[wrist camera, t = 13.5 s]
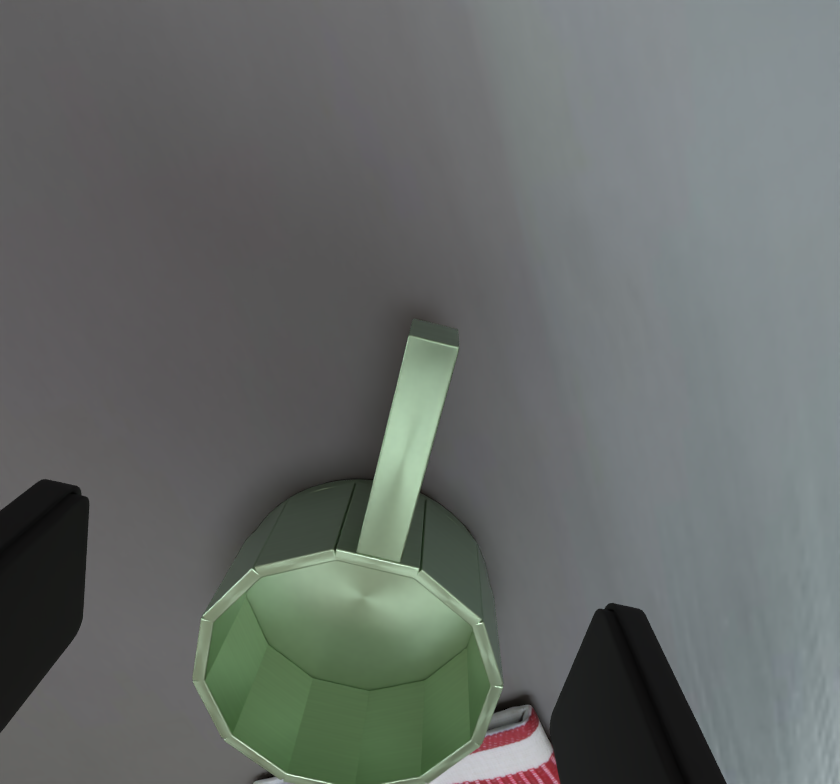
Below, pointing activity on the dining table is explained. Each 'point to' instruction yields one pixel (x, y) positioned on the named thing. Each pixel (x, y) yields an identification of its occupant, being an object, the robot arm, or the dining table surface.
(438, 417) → the green saucepan
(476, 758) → the dish towel
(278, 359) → the dining table surface
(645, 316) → the dining table surface
